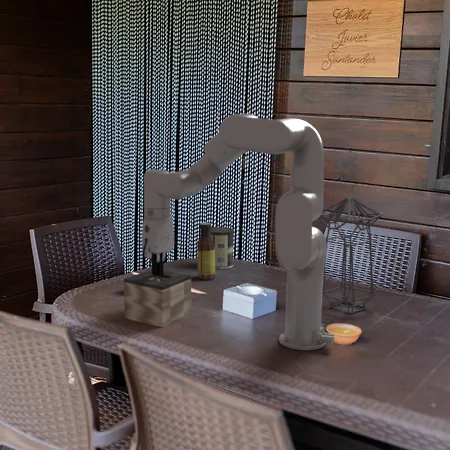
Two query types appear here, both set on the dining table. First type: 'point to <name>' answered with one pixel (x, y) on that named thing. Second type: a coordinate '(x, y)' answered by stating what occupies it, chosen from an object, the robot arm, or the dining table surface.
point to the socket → (157, 297)
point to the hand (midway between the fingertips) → (157, 274)
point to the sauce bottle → (205, 253)
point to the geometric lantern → (340, 210)
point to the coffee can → (223, 246)
